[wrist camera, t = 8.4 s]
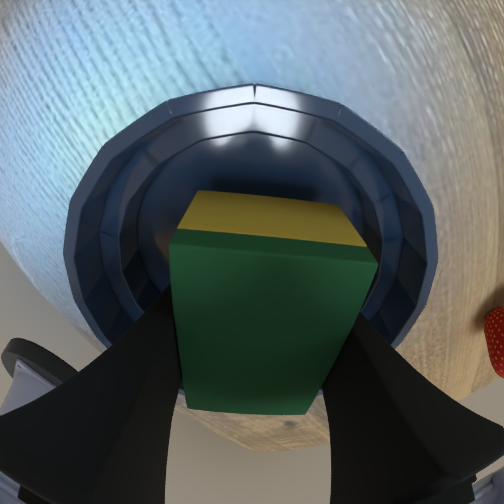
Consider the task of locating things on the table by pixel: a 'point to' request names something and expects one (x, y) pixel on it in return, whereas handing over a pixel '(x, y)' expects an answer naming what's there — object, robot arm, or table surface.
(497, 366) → the fruit
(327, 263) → the sponge
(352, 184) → the bowl
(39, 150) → the table surface
